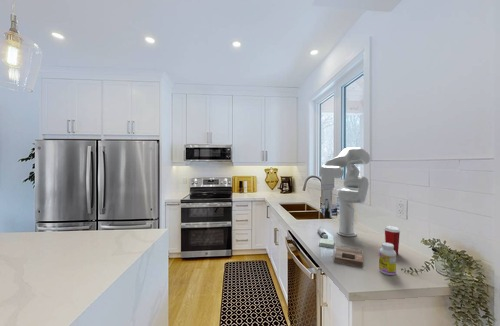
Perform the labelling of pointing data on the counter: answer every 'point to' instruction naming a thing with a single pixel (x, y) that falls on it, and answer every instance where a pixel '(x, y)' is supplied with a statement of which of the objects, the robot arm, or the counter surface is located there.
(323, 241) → the tab
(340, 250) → the walnut flange plate
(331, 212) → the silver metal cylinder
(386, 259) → the supplement bottle
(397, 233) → the paper cup
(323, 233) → the torpedo
